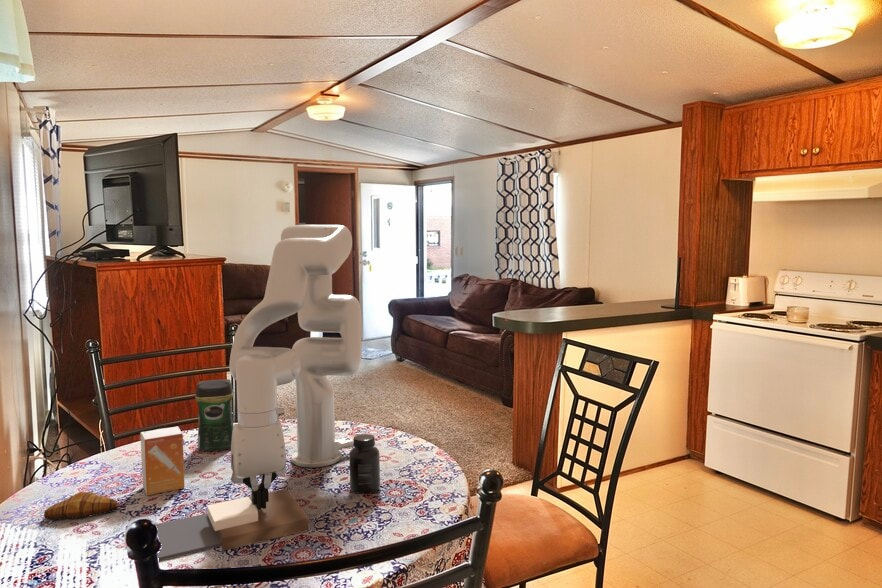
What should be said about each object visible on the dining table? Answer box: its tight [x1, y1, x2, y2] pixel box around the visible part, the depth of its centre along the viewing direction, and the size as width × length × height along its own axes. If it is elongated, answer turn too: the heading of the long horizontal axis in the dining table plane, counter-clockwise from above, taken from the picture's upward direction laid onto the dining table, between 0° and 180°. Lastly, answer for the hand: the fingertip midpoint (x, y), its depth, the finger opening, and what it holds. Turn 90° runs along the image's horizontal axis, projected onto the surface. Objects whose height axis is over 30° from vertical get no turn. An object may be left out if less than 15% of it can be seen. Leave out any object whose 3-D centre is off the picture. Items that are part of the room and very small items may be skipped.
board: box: [208, 488, 310, 552], centre depth 122 cm, size 16×16×2 cm
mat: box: [155, 513, 222, 562], centre depth 116 cm, size 12×14×1 cm
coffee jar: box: [195, 378, 234, 452], centre depth 164 cm, size 10×8×19 cm
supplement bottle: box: [348, 433, 381, 495], centre depth 138 cm, size 7×7×12 cm
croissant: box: [43, 491, 119, 520], centre depth 125 cm, size 14×7×5 cm, turn 107°
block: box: [206, 496, 258, 531], centre depth 119 cm, size 8×8×2 cm
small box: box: [139, 426, 185, 497], centre depth 138 cm, size 8×6×13 cm
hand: (260, 506), depth 122 cm, fingers closed
